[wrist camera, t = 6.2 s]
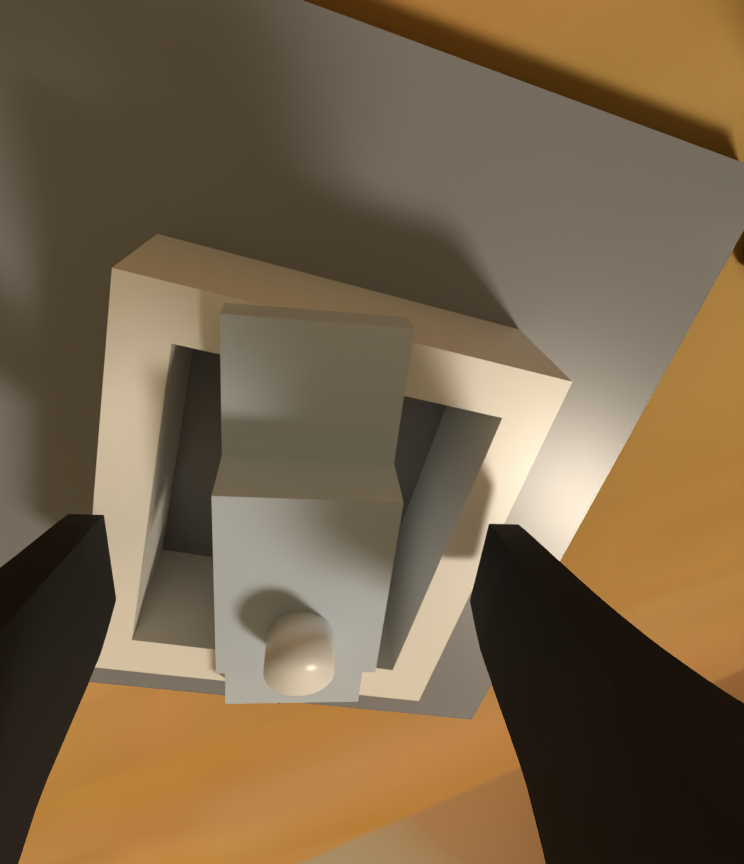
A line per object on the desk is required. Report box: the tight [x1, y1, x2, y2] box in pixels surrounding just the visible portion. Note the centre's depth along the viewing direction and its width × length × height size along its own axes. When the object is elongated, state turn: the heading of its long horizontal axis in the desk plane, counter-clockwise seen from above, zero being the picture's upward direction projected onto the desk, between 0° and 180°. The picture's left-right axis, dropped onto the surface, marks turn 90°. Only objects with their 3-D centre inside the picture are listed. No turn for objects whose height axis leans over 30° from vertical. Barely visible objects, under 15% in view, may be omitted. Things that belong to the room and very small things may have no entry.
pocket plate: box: [0, 0, 744, 720], centre depth 13 cm, size 16×18×4 cm
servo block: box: [211, 303, 414, 704], centre depth 12 cm, size 3×9×6 cm, turn 174°
